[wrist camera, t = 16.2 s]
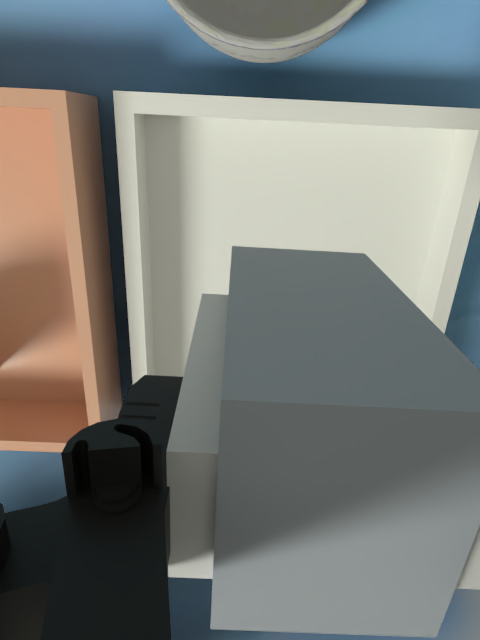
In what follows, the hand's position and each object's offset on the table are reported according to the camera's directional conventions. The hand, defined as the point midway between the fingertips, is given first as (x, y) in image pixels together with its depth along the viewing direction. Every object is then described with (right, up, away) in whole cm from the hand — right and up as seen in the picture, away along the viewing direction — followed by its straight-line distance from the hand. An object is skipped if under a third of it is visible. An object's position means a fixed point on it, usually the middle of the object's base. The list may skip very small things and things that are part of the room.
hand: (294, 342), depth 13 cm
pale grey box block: (0, +1, +1) cm, 1 cm away
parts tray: (+1, +3, +17) cm, 17 cm away
